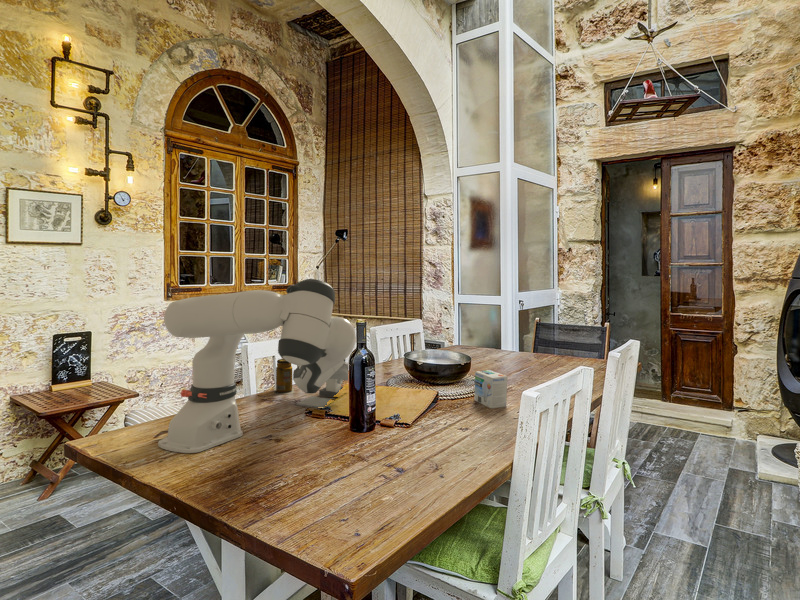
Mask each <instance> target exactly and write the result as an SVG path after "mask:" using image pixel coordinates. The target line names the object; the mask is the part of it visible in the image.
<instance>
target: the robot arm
mask: <svg viewBox="0 0 800 600" xmlns="http://www.w3.org/2000/svg"><path fill="white" fill-rule="evenodd" d="M285 290H286V293H287V294H280V293H278V292H275V291H272V290H267V289H266V290H264V289H255V290H254V289H253V290H244V291H238V292H231V293H221V294H210V295H202V296H201V295H200V296H193V297H188V298H182V299H178V300H175V301H174V300H173V301H172V302H170V303H169V304H168V306H167V307H166V308H165V311H164V316H163V323H164V326H165V328H166V330H167V332H168V333H170V335H172V336H173V337H177V338H184V339H185V338H186V339H197V338H200V339H202V338H209V339H208V342H207V343H206V344H205V346H204V347H203V348H201V349H200V350H198V351H197V352H196V353H195V354H194V356H193V358H192V362H191V363H192V364H191V365H192V366H191V367H192V384H191V386H190V389H184V388H183V389H181V391H180V396H181V397H182V398H187V401H186V402H185V404H183V406H182V407H181V408H180V409H179V411H178V412H177V413H176V414H175V415H174V416H173V417H172V418H171V420H169V421H170V422H169V425H168V429H167V436H165V437H164V438H162V439H160V440H159V441H158V443H157V445H158V447H159V448H161V449H163V450H166V451H171V452H175V453H184V454H192V453H193V454H194V453H200V452H203V451H206V450H208V449H212V448H214V447H217V446H219V445H221V444H226V443H228V442H229V441H232V440H236V439H238V438H241V437H243V436H244V433H243V432H244V431H243V430H242V427H241V424H240V416H239V415H240V414H239V407H238V406H239V405H238V404H237V399H236V395H237V389H238V387H237V382H236V381H235V366H236V365H235V361H236V354H237V349H238V347H239V345H240V342H241V340H242V339H243V337H244V336H245V335H248V334H249V335H250V334H251V335H252V334H254V335H255V334H261V333H265V332H270V331H273V330H276V329H277V328H279V327H282V329H281V333H280V339H278V345H277V346H278V347H277V354H278V355H279V356H280V358H281V359H285V360H286V361H288V362H289V363H291V365H295V366H297V367H296V368H295V369H294V370H293V371H292V381H293V382H294V383H295V385H296V386H297V388H298V389H299V390H300V391H302V392H303V393H305V394H316V393H317V392H319V390H321V389H322V388H321V387H323V385H324V384H326V381H327V380H328V379H337V383H338V384H341V385H342V384H343V382H344V381H347V382H349V381H348V365H350V364H349V363H348V362H346V359H348V357H349V356H350V355H351V353H352V352H353V350H354V348H355V345H356V341H357V340H356V338H357V335H356V330H355V327H354V326H353V324H352V323H351V322H350V321H349V320H348V319H347V318H344V317H340V316H334V317H333V316H332V315H333V309H334V305H335V302H336V291H335V289H334V288H333V286H331V285H330V284H329V283H328V282H326V281H323V280H319V279H315V278H307V279H303V280H300V281H297V282H296V283H295V284H294V285H289V286H288V287H287V288H286V289H285Z"/></svg>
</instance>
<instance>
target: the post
mask: <svg viewBox="0 0 800 600" xmlns="http://www.w3.org/2000/svg"><path fill="white" fill-rule="evenodd" d="M325 387H326V391H332V392H338V391H339V390H341V387H342V384H338V383H337V379H328V380H327V381H326V382H325Z"/></svg>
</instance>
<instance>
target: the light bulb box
mask: <svg viewBox="0 0 800 600" xmlns="http://www.w3.org/2000/svg"><path fill="white" fill-rule="evenodd" d="M507 394H508V376H507V375H504V374H502V373H500V372H496V371H493V370H491V369H486V370H478V371H475V372H474V398H473V401H475V402H477V403H479V404H481V405H483V406H485V407H487V408H489V409H497V408H499V409H500V408H505V407H507V396H508V395H507Z"/></svg>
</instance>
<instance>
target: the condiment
mask: <svg viewBox="0 0 800 600" xmlns="http://www.w3.org/2000/svg"><path fill="white" fill-rule="evenodd" d="M276 363H277V364H276V367H275V387H274V389H273V395H294V394H295V391H294V390H295V389H294V387H293V366H292V363H289V362H288V361H286V360H285V359H283V358H279V359H277V361H276Z"/></svg>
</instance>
